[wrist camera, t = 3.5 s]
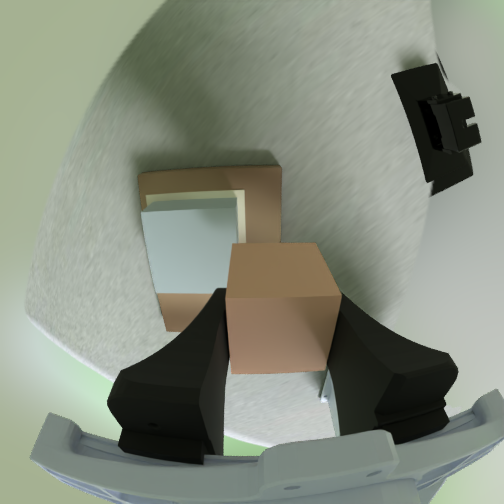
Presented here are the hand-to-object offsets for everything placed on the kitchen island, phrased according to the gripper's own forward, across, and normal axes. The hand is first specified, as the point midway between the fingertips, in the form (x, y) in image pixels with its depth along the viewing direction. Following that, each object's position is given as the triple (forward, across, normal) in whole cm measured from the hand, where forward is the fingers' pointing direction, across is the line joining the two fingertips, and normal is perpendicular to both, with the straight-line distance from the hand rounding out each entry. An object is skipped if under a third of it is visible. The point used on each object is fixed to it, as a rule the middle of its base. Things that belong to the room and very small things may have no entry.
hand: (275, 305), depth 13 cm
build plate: (+10, -14, -10) cm, 20 cm away
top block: (+2, 0, 0) cm, 2 cm away
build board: (+10, +4, +2) cm, 11 cm away
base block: (+8, +5, 0) cm, 10 cm away
